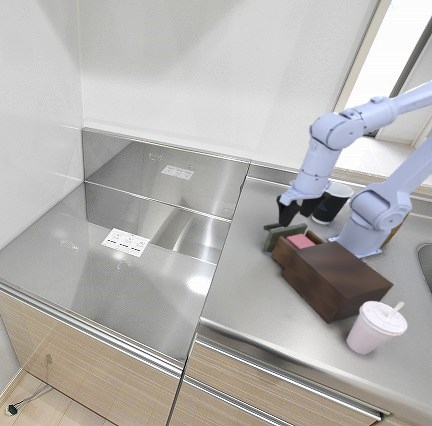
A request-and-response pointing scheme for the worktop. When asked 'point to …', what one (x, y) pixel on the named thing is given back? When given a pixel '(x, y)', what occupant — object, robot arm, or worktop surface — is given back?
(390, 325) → the smoothie
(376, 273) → the cabinet
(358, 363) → the worktop surface
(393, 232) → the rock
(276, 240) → the drawer
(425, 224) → the worktop surface
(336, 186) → the dixie cup
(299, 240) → the block
